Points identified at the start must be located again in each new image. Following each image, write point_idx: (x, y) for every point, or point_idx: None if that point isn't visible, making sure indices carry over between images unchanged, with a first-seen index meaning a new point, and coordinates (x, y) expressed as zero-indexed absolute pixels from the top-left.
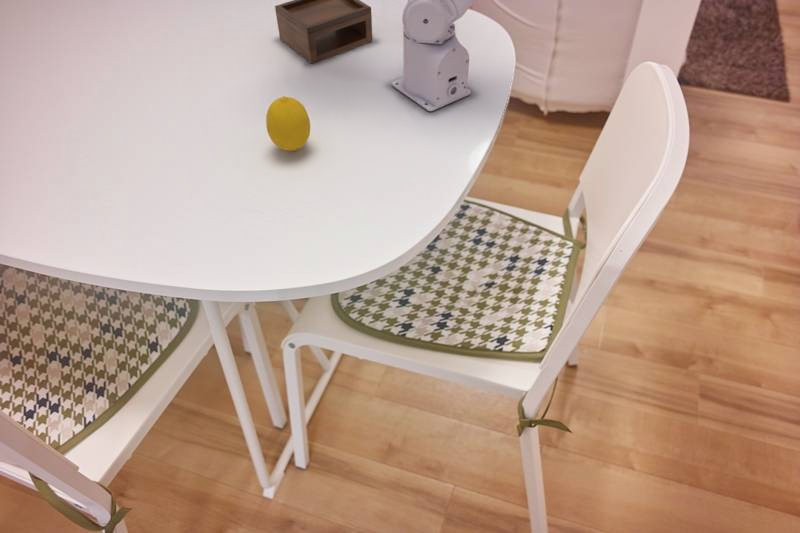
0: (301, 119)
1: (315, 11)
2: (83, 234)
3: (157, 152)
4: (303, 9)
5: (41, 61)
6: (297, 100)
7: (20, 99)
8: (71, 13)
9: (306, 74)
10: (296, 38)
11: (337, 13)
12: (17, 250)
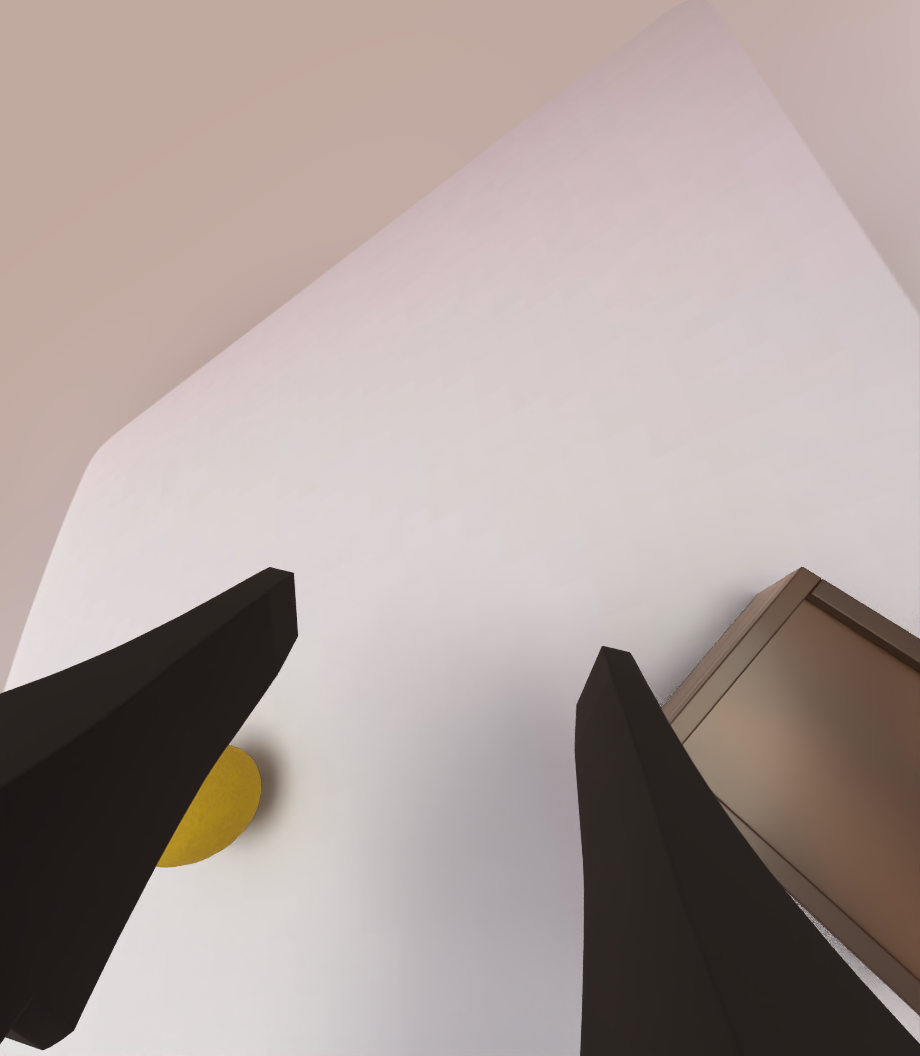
0: None
1: (859, 741)
2: (103, 517)
3: (255, 520)
4: (856, 681)
5: (506, 182)
6: (167, 846)
7: (388, 241)
8: (715, 83)
9: (568, 739)
10: (691, 681)
11: (881, 860)
12: (93, 460)
